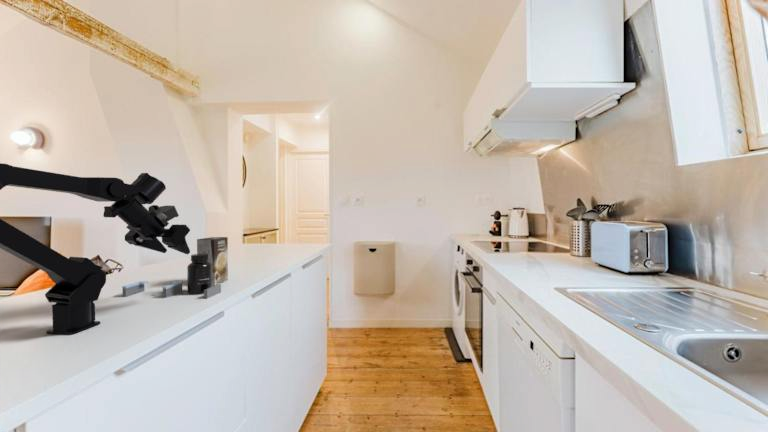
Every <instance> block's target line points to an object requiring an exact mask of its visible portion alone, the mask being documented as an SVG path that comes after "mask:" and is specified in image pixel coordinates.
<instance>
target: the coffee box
mask: <svg viewBox="0 0 768 432" xmlns="http://www.w3.org/2000/svg"><path fill="white" fill-rule="evenodd" d="M228 240H229V239H228V237H227V236H215V237H214V236H211V237H204V238H197V239H196V254H208V262H209V263H211V265H212V287H213V286H215V285H217V284H221V283H224V282H226V281H228V280H229V266H228V265H229V255H228V254H229V252H228V251H229V248H228V247H229V246H228V245H229V242H228Z"/></svg>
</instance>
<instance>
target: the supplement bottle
mask: <svg viewBox="0 0 768 432" xmlns="http://www.w3.org/2000/svg"><path fill="white" fill-rule="evenodd" d="M190 261H191V262H190V263H189V264H188V265H187V269H186V270H187V279H186V280H187V283H186V284H187V293H188V294H190V295H201V294H203V295H204V290H205V289H208V288H210V287H213V285H212V265H211V263H209V262H208V254H197V253H196V254H191V255H190Z"/></svg>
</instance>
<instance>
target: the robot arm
mask: <svg viewBox="0 0 768 432" xmlns="http://www.w3.org/2000/svg"><path fill="white" fill-rule="evenodd" d="M7 186H8V187H16V188H25V189H31V190H40V191H50V192H55V193H65V194H71V195H75V196H78V197H81V198H83V199H87V200H90V201H94V202H99V203H101V202H113V203H112V204H111V205H110V206H109V205H107V206H104V207H103V209H104V210H103V215H102V217H104V218H116V217H118V218H119V219H120V220H122V221H123V222H124V223H125V224H126V225H127V226H126V229H127V230H128V232H127V233H125V235H124V241H125V242H126V243H128V244H129V245H134V246H135V247H141V248H144V249H148V250H151V251H155V252H160V253H162V254H166V252H168V249H167V248H169V249H172V250H175V251H177V252H180V253H182V254H184V255H189V254H190V252H191V250H190V247H189V245H188V243H187V240H186V236H187V235H188V234H189V233H190V232H191V229H190V228H189V226H188V225H187V224H172V225H171V226H170V227H169V228H166V227H167V226H168V225H169V224H170V222H169V221H171V220H173V219H174V218H178V217H179V216H180V215H179V213H178V211H177V209H176V206H175V205H161V206H159V205H157V204H153V203H154V202H155V201H156V200H157V199H158V198H159V196H160V195H161V194H162V193H163V192H164V191H166V185H165V183H164V182H163V181H162V180H160V179H158V178H156V177H155V176H151V175H150V174H149V173H148V172H143V173H142V172H141V173H140V174H139V175H138V176H137V178H136V179H135V180H134V181H133V182H131V183H130V184H129V183H125V182H124V180H123V179H121V178H119V177H102V176H101V177H99V176H97V177H94V176H93V177H92V176H91V177H84V176H83V177H81V176H74V175H68V174H63V173H62V174H61V173H57V172H49V171H44V170H38V169H32V168H25V167H20V166H13V165H12V164H11V165H10V164H7V163H1V162H0V191H1V190H2V189H4V188H5V187H7ZM146 204H147V205H150V206H148V209H147V208H146V207H145V206H144V205H146ZM158 238H161V241H160V240H159V239H158ZM165 245H166V247H167V248H166V247H165ZM0 249H1V250H3V251H5V252H7V253H8V254H11V255H12V256H14V257H16V258H18V259H20V260H22V261H23V262H26V263H27V264H30V265H31V266H34V267H35V268H37V269H39V270H41V271H43V272H44V273H46V274H47V276H48V277H49V278H50V280H51V281H52V282H53V283H55V284H54V285H53V286H52V287H50V289H48V290H47V291H46V293H45V294H44V295H45V299H46V300H47V302H48V303H55V304H52V305H51V308H52V309H51V311H52V312H51V313H52V314H51V315H52V328H50V329H48V330H46V334H61V335H62V334H63V335H64V334H65V335H71V334H78V333H79V332H82V331H84V330H87V329H89V328H92V327H95V326H97V325H100V324H101V321H99V320H96V304H95V301H98V300H99V297H100V295H101V292H102V288H103V287H104V286H105V284H106V283H107V274H106V272H105V271H104V270H103V268H104V267H103V265H98V264H96V263H94V261H92V260H91V259H89V258H88V257H80V256H69V258H68V257H66V256H65V255H63V254H61V253H60V252H58V251H56V250H54V249H53V248H51V247H49V246H47V245H46V244H44V243H42V242H41V241H39V240H37V239H36V238H34V237H32V236H30V235H29V234H28V233H25V232H24V231H22V230H20V229H19V228H17V227H15V226H14V225H12V224H9V223H8V221H7V222H6V221H5V220H3V219H2V218H0Z"/></svg>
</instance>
